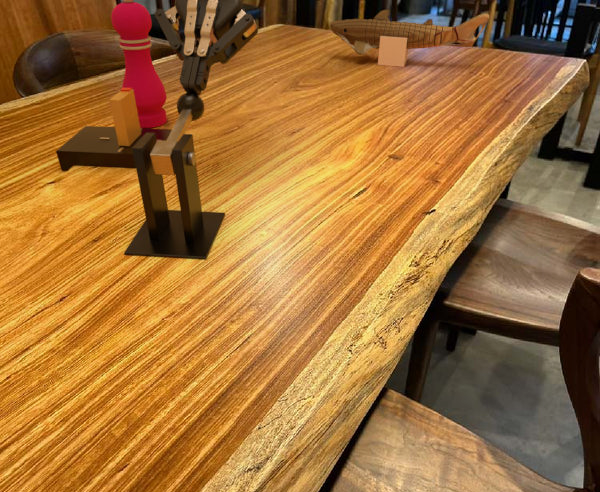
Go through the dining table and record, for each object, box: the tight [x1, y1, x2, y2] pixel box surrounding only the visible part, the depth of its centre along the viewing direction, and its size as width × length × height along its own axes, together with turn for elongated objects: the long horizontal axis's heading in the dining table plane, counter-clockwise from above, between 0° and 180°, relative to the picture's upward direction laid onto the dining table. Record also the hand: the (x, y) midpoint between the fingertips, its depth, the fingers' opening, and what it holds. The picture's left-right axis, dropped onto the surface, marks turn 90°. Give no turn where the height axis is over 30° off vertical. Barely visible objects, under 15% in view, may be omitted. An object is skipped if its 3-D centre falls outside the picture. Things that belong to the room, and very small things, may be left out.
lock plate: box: [55, 125, 173, 172], centre depth 79 cm, size 14×10×3 cm
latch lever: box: [150, 92, 205, 176], centre depth 59 cm, size 14×3×3 cm, turn 175°
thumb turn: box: [108, 87, 141, 146], centre depth 76 cm, size 5×2×7 cm, turn 174°
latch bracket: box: [123, 133, 226, 261], centre depth 58 cm, size 10×9×12 cm
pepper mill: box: [110, 0, 168, 129], centre depth 87 cm, size 7×7×20 cm
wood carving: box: [329, 9, 490, 68], centre depth 122 cm, size 9×35×11 cm, turn 74°
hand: (191, 91), depth 63 cm, fingers closed
